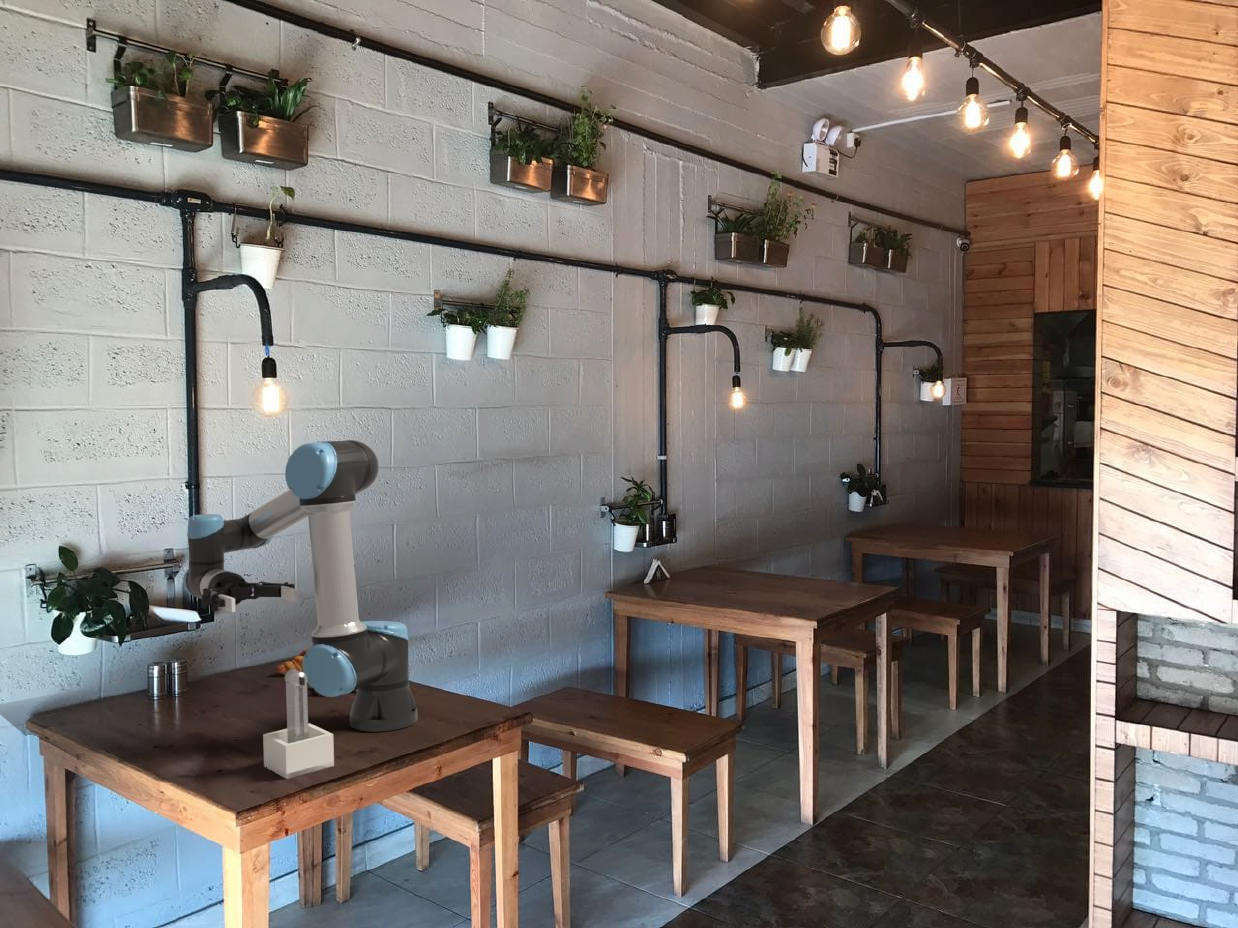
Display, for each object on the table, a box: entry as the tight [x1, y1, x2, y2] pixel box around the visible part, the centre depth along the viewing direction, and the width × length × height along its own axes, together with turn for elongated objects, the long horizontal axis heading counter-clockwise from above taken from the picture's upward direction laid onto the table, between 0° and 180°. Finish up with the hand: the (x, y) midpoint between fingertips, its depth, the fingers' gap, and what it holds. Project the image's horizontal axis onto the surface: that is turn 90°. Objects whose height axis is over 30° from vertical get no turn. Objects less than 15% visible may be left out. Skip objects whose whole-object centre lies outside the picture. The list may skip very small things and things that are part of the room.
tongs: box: [284, 669, 309, 744], centre depth 199 cm, size 3×5×18 cm, turn 44°
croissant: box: [275, 648, 309, 676], centre depth 274 cm, size 21×10×8 cm, turn 122°
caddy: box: [262, 722, 335, 780], centre depth 200 cm, size 10×10×6 cm
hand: (265, 600), depth 208 cm, fingers open, 13 cm apart
